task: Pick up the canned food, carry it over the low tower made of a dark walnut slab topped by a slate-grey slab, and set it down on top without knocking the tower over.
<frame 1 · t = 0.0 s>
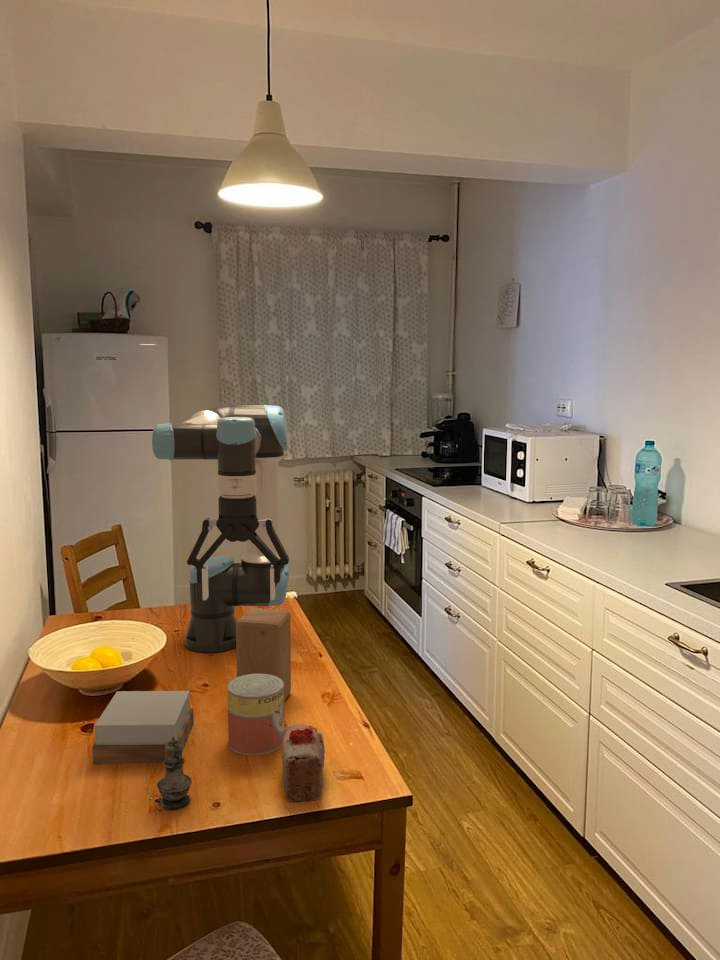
hand: (239, 598, 152), 28 cm above the table, tool pointing down, fingers open, 13 cm apart
grey block: (145, 726, 149), point 3 cm above the table, touching walnut block
walnut block: (146, 745, 150), on the table, touching grey block
canned food: (256, 742, 151), on the table
food item: (303, 782, 136), on the table
wooden block: (264, 700, 169), on the table
dark chess piece: (175, 802, 129), on the table
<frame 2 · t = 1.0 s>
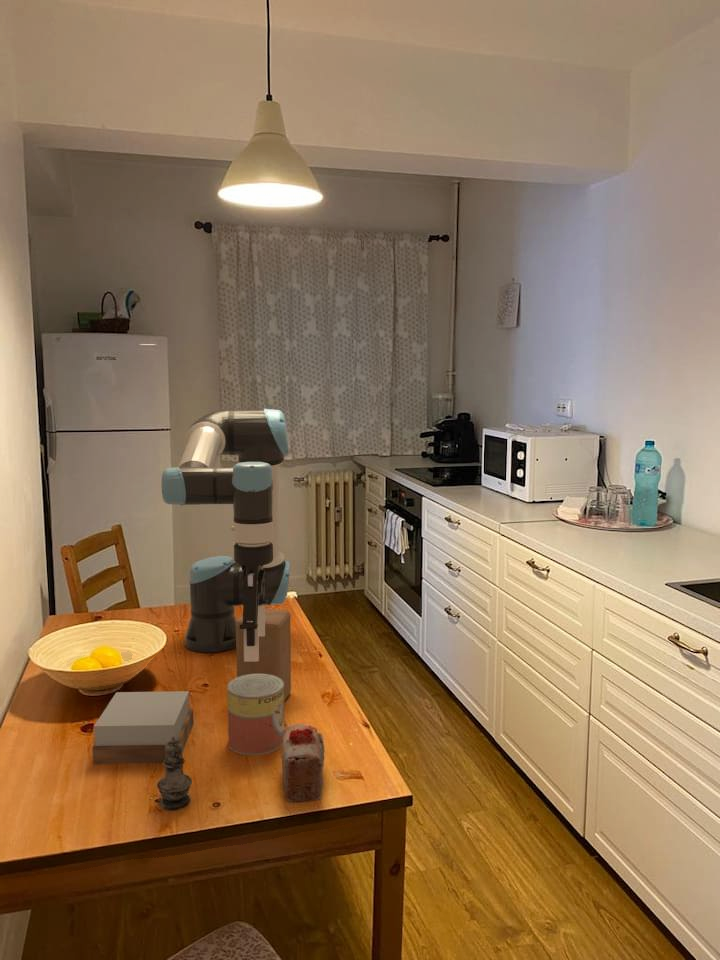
hand: (255, 648, 147), 20 cm above the table, tool pointing down, fingers open, 13 cm apart
nothing on the table moved.
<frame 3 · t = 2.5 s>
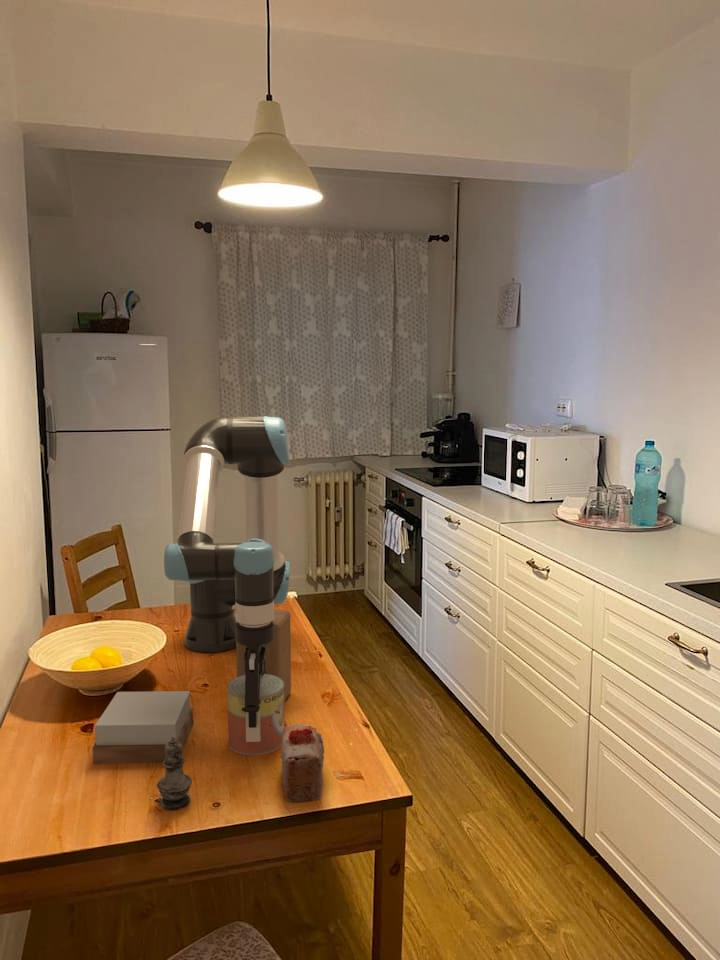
hand: (256, 726, 150), 3 cm above the table, tool pointing down, fingers closed on canned food, 11 cm apart
canned food: (256, 742, 151), on the table, touching gripper
everything else where it was.
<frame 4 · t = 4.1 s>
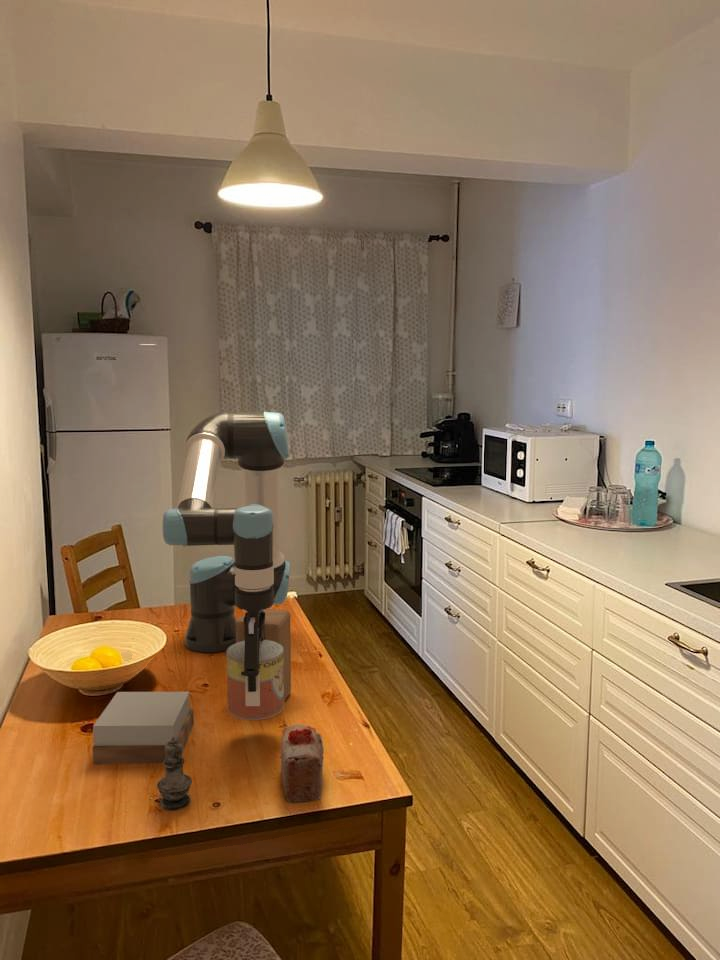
hand: (255, 691, 149), 10 cm above the table, tool pointing down, fingers closed on canned food, 11 cm apart
canned food: (256, 707, 150), point 7 cm above the table, touching gripper
everything else where it was.
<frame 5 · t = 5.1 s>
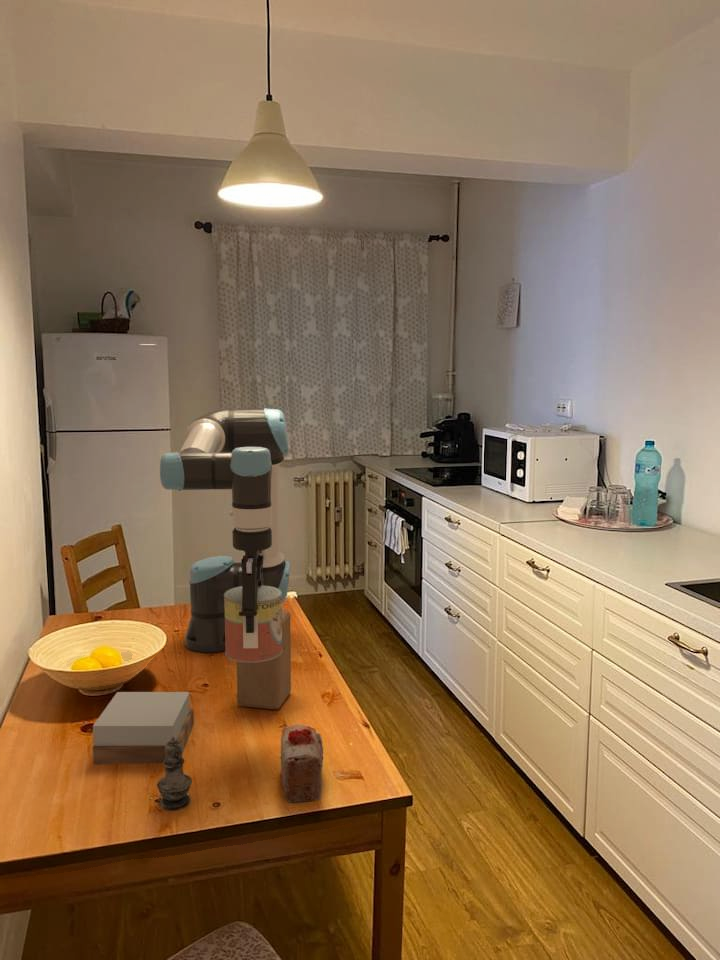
hand: (253, 636, 147), 22 cm above the table, tool pointing down, fingers closed on canned food, 11 cm apart
canned food: (254, 652, 148), point 19 cm above the table, touching gripper
everything else where it was.
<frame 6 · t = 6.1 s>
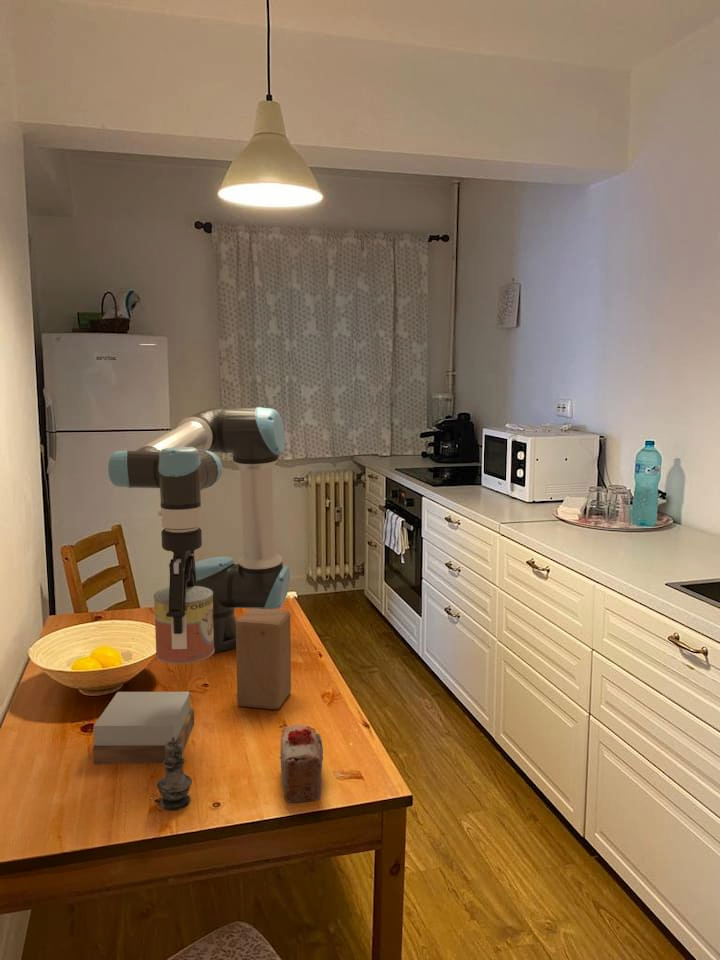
hand: (184, 637, 147), 22 cm above the table, tool pointing down, fingers closed on canned food, 11 cm apart
grey block: (144, 726, 149), point 3 cm above the table
walnut block: (146, 745, 150), on the table
canned food: (185, 653, 147), point 19 cm above the table, touching gripper
everything else where it was.
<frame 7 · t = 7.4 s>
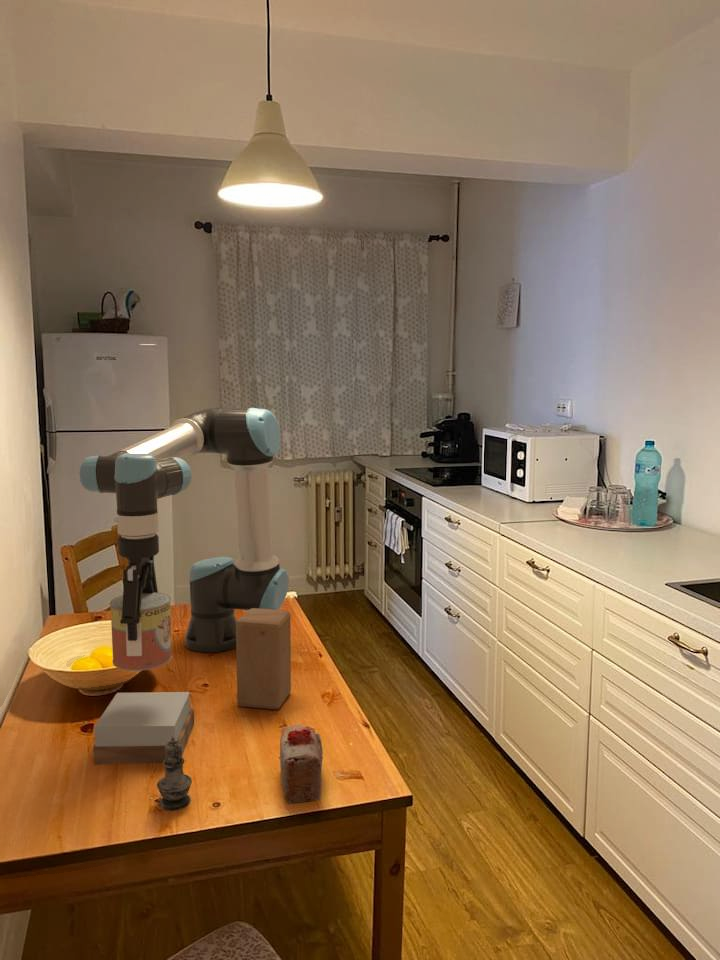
hand: (142, 644, 147), 21 cm above the table, tool pointing down, fingers closed on canned food, 11 cm apart
grey block: (145, 727, 149), point 3 cm above the table, touching walnut block
walnut block: (147, 745, 150), on the table, touching grey block
canned food: (142, 660, 147), point 17 cm above the table, touching gripper
everything else where it was.
when the fingers open (12 cm above the table, at t = 10.6 s): canned food stays where it is, resting on grey block.
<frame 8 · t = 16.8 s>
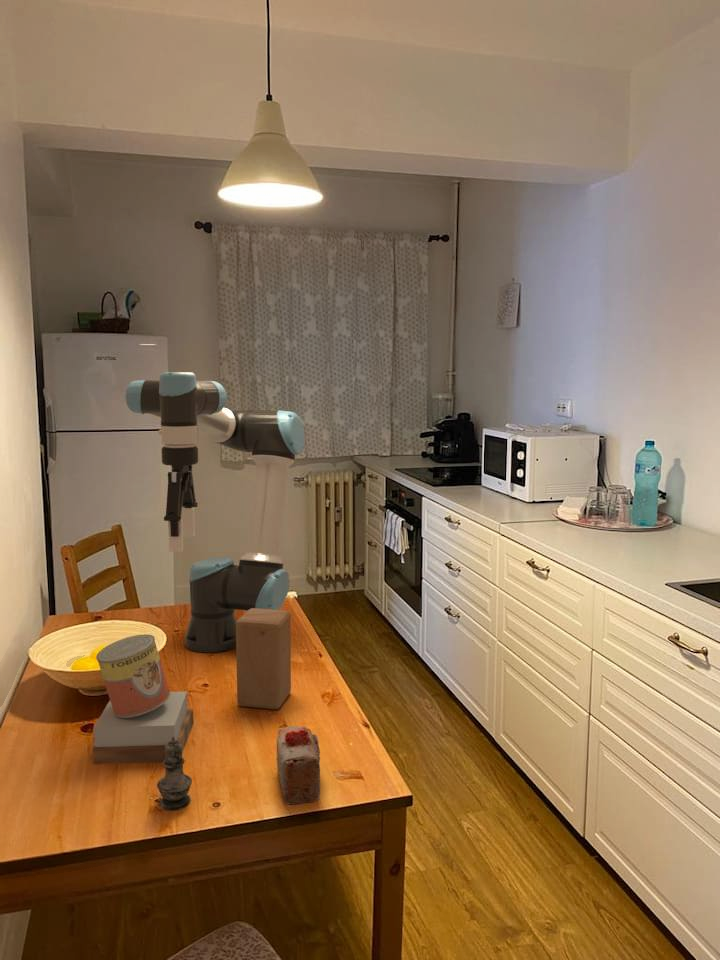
hand: (182, 543, 161), 37 cm above the table, tool pointing down, fingers open, 13 cm apart
grey block: (143, 727, 149), point 3 cm above the table, touching canned food, walnut block
canned food: (142, 703, 148), point 8 cm above the table, touching grey block
at the end: canned food inside the target area on the grey block (0.4 cm from its centre), point 5.1 cm above the grey block's base; canned food tilted 13°; grey block inside the target area (0.4 cm from its centre), point 3.5 cm above the table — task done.
